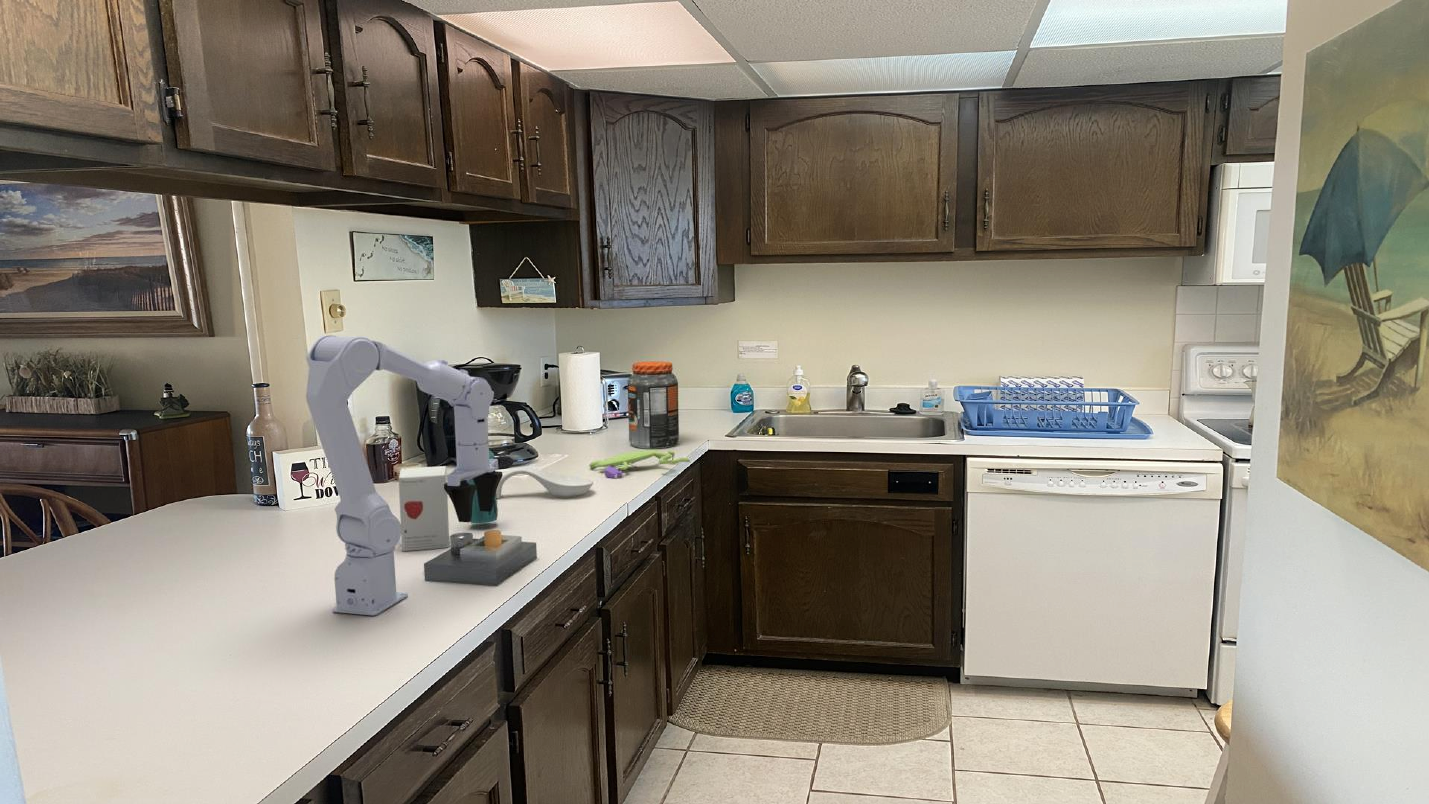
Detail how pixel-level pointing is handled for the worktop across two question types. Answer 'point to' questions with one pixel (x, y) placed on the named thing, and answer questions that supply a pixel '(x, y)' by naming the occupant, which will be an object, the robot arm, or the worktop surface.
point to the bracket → (490, 550)
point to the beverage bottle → (476, 513)
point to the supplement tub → (653, 405)
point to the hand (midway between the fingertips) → (475, 516)
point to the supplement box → (423, 508)
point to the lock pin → (492, 538)
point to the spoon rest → (552, 482)
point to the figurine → (633, 461)
